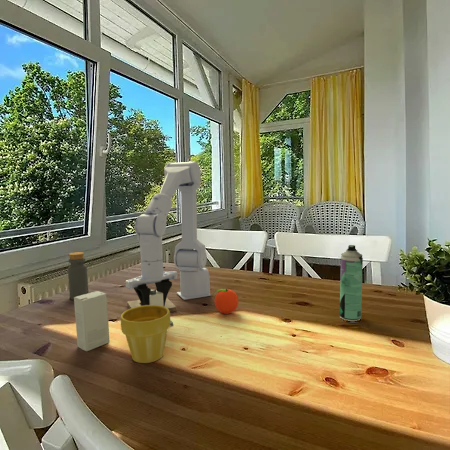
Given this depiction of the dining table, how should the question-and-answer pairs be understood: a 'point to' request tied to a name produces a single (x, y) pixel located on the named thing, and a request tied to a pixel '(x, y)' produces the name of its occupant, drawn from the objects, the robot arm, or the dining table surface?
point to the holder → (137, 303)
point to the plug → (156, 298)
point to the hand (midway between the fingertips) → (153, 309)
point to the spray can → (351, 284)
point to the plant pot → (146, 331)
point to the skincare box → (91, 320)
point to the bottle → (77, 275)
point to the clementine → (226, 301)
